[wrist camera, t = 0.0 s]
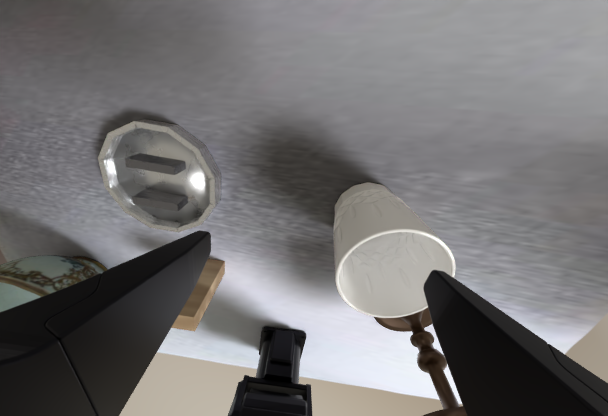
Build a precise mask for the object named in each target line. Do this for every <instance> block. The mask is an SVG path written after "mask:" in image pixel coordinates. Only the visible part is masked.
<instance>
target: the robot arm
mask: <svg viewBox="0 0 608 416" xmlns="http://www.w3.org/2000/svg"><path fill="white" fill-rule="evenodd" d="M210 252H211V235H210V233H209V232H206V231H197V232H194V233H192V234H190V235H187V236H185V237H183V238H180V239H178V240H176V241H173V242H171V243H169V244H166V245H164V246H162V247H160V248H157V249H155V250H153V251H150V252H148V253H146V254H143V255H141V256H139V257H136V258H134V259H132V260H129V261H127V262H125V263H122V264H120V265H118V266H115V267H113V268H111V269H108V270H106V271H104V272H103V273H99V274H97V275H94V276H92V277H90V278H87V279H85V280H83V281H80V282H78V283H75V284H73V285H71V286H68V287H66V288H63V289H61V290H58V291H56V292H53V293H50V294H48V295H45V296H43V297H40V298H37V299H35V300H32V301H29V302H26V303H24V304H21V305H18V306H16V307H13V308H10V309H8V310H5V311H2V312H0V416H119V414H120V413H121V411H122V409H123V408H124V406H125V404H126V402H127V401H128V399H129V398H130V396H131V394H132V393H133V391H134V389H135V388H136V386H137V384H138V383H139V381H140V379H141V377H142V376H143V374H144V372H145V371H146V369H147V367H148V366H149V364H150V362H151V361H152V359H153V357H154V356H155V354H156V352H157V351H158V349H159V347H160V346H161V344H162V342H163V341H164V339H165V337H166V336H167V334H168V332H169V330H170V329H171V327H172V325H173V324H174V322H175V320H176V319H177V317H178V315H179V314H180V312H181V310H182V309H183V307H184V305H185V304H186V302H187V300H188V299H189V297H190V295H191V293H192V292H193V290H194V288H195V286H196V284H197V282H198V280H199V277H200V275H201V273H202V271H203V268H204V266H205V264H206V262H207V260H208V257H209V255H210ZM423 289H424V294H425V297H426V301H427V305H428V309H429V312H430V316H431V320H432V323H433V326H434V329H435V332H436V335H437V338H438V340H439V343H440V345H441V348H442V351H443V353H444V356H445V359H446V361H447V364H448V367H449V369H450V372H451V375H452V377H453V380H454V383H455V385H456V388H457V391H458V393H459V396H460V398H461V401H462V404H463V406H464V409H465V412H466V414H467V416H608V383H606V382H605V381H603V380H602V379H600V378H599V377H597V376H596V375H594V374H593V373H591V372H590V371H588V370H587V369H585V368H584V367H582V366H581V365H579V364H578V363H576V362H575V361H573V360H572V359H570V358H569V357H567V356H566V355H564V354H563V353H562V352H560V351H559V350H557V349H556V348H554V347H553V346H551V345H550V344H547V342H546V341H544V340H543V339H541V338H540V337H538V336H537V335H535V334H534V333H533V332H531V331H530V330H528V329H527V328H525V327H524V326H522V325H521V324H519V323H518V322H517V321H515V320H514V319H512V318H511V317H509V316H508V315H506V314H505V313H504V312H502V311H501V310H499V309H498V308H496V307H495V306H493V305H492V304H491V303H489V302H488V301H486V300H485V299H483V298H482V297H480V296H479V295H478V294H476V293H475V292H473V291H472V290H470V289H469V288H467V287H466V286H465V285H463V284H462V283H460V282H459V281H457V280H456V279H454V278H453V277H451V276H450V275H449V274H447V273H446V272H444V271H439V270H432V271H431V272H430V274H429V276H428V278H427V280H426V281H425V283H424V287H423ZM305 340H306V333H304V332H297V331H291V330H284V329H278V328H271V327H263V328H262V334H261V341H260V349H259V355H260V359H259V364H258V369H257V373H256V378H255V377H249V376H247V375H245V376H244V380H243V381H241V382H239V383H238V387H237V390H236V394H235V397H234V400H233V403H232V406H231V408H230V411H229V413H228V416H312V401H311V385H309V384H306V385H303V384H298V382H299V365H300V358H301V355H302V351H303V347H304V344H305Z"/></svg>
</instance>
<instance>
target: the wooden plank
mask: <svg viewBox="0 0 608 416" xmlns="http://www.w3.org/2000/svg"><path fill="white" fill-rule="evenodd" d="M224 273H225V261H219V260H213V259H208V260H207V262H206V264H205V266H204V268H203V271H202V273H201V275H200V277H199V280H198V282H197V284H196V286H195V288H194V290H193V292H192V293H191V295H190V297H189V299H188V300H187V302H186V304H185V305H184V307H183V309H182V310H181V312H180V314H179V315H178V317H177V319H176V320H175V322H174V324H173V325H172V327H171V328H177V329H184V330H190V331H195V330H196V328H197V326H198V324H199V322H200V320H201V318H202V316H203V314H204V312H205V311H206V309H207V307H208V305H209V303H210V301H211V299H212V297H213V295H214V293H215V291H216V289H217V287H218V285H219V283H220V281H221V279H222V277H223V275H224Z"/></svg>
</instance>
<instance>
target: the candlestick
mask: <svg viewBox="0 0 608 416" xmlns="http://www.w3.org/2000/svg"><path fill="white" fill-rule="evenodd" d="M374 318H375V319H376V321H377V322H378V323H379V324H380V325H382V326H383V327H385V328H388V329H390V330H394V331H403V332H405V331H412V332H413V335H412V336H411V338H410V340H411V343H412V345H413V346H415V347H418V349H419V353H418V358H417V363H418V366H419V368H420V369H421V370H422V371H424V372H426V373H429V374H430V376H431V379H432V381H433V384H434V386H435V389H436V391H437V394H438V396H439V399H440V401H441V404H442V406H443V408H444V409H443V410H439V411H435V412H432V413H429V414H426V415H424V416H467V414H466V412H465V409H464V406H462V407H460V406H459V404H458V402H457V400H456V397H455V395H454V393H453V391H452V389H451V387H450V384H449V382H448V380H447V378H446V376H445V374H444V371H443V370H444V369H445V368H446V366H447V361H446V359H445V356H444V355H443V354H441V353H440V352H439V351H438V350H437V349H434V347H433V345H432V343H433V342H434V337H433V335H432V334H431V333H430V332H427V331H425V330H424V328H425V327H427V326H429V325H431V324H432V320H431V316H430V312H429V309H428V308H426V309H424V310H422V311H420V312H417V313H414V314H411V315H408V316H403V317H396V318H380V317H374Z"/></svg>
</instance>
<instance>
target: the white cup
mask: <svg viewBox="0 0 608 416" xmlns="http://www.w3.org/2000/svg"><path fill="white" fill-rule="evenodd" d="M333 235H334V259H335V282H336V287H337V290H338V293H339V295H340V296H341V298H342V299H343V300H344V301H345V303H347V304H348V305H349V306H350V307H351V308H353V309H355V310H356V311H358V312H360V313H363V314H366V315H369V316H373V317H380V318H396V317H403V316H408V315H411V314H414V313H417V312H420V311H422V310H424V309H426V308H428V305H427V301H426V297H425V294H424V289H423V287H424V283H425V281H426V280H427V278H428V276H429V274H430V272H431V271H432V270H439V271H444V272H446V273H447V274H449V275H450V276H451V277H453V278H454V275H455V260H454V257H453V254H452V252H451V251H450V249H449V248H448V246H447V245H446V244H445V243H444V242H443V241H442V240H441V239H440V238H439V237H438V236H437V235H436V234H435V233H434V232H433V231H432V230H431V229H430V228H429V227H428V226H427V225H426V224H425V223H424V222H423V220H422V219H421V218H420V217H419V216H418V215H417V214H416V213H415V212H413V211H412V210H411V209H410V208H409V207H408V206H407V205H406V204H405V203H404V202H403V201H402V200H401V199H400V198H398V197H397V196H396V195H395V194H394V193H392V192H391V191H390V190H389V189H387V188H386V187H385V186H384V185H380V184H375V183H370V182H367V183H363V184H358V185H354V186H352V187H351V188H349V189H348V190H347V191H345V192H344V193H342V194H341V196H340V198H339V199H338V201H337V203H336V205H335V208H334V233H333Z"/></svg>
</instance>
